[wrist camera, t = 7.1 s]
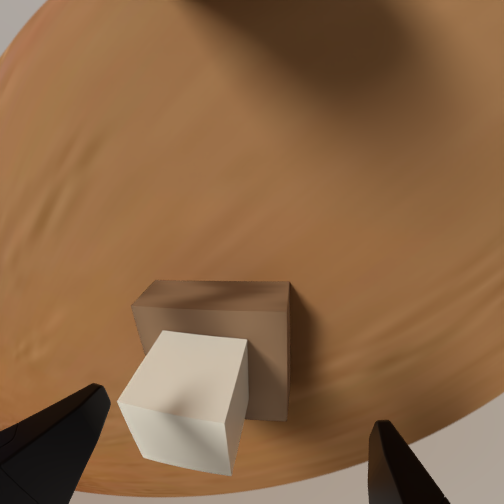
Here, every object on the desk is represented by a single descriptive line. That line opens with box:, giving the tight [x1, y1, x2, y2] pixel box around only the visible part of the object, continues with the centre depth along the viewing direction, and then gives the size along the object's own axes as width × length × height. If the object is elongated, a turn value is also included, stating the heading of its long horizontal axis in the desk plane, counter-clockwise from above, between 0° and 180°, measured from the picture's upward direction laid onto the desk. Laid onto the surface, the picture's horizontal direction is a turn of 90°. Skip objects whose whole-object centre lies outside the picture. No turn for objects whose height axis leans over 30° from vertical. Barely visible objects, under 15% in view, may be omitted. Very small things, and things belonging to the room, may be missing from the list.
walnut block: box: [131, 280, 290, 421], centre depth 20 cm, size 9×9×4 cm
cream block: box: [117, 330, 249, 476], centre depth 15 cm, size 5×5×6 cm
